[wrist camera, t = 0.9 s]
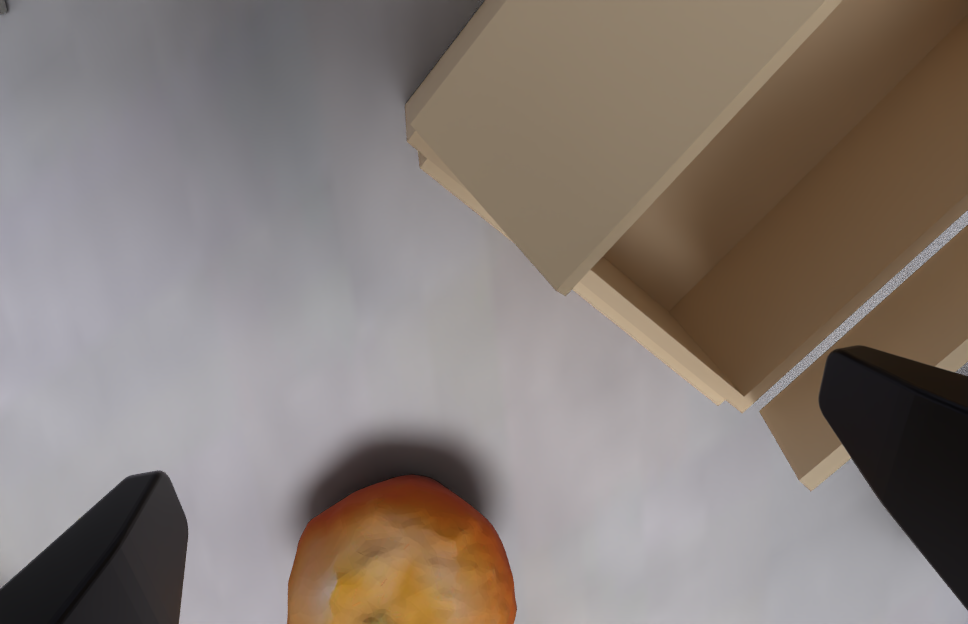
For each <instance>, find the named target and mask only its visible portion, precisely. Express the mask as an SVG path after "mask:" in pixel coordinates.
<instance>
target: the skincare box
mask: <svg viewBox="0 0 968 624" xmlns="http://www.w3.org/2000/svg"><path fill="white" fill-rule="evenodd" d="M6 13H7V8H6V4H5V1H4V0H0V15H2V14H6Z"/></svg>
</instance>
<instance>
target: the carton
mask: <svg viewBox="0 0 968 624" xmlns="http://www.w3.org/2000/svg"><path fill="white" fill-rule="evenodd" d="M505 1H506V0H485V1H484V2H483V4H482V5H481V6H480V7H479V9H478V10H477V11H476V13H475V14H474V15H473V17H472V18H471V19H470V21H469V22H468V23H467V24H466V26H465V27H464V28H463V30H462V31H461V32H460V34H459V35H458V36H457V38H456V39H455V40H454V41H453V43H452V44H451V45H450V47H449V48H448V49H447V51H446V52H445V53H444V55H443V56H442V57H441V58H440V60H439V61H438V62H437V64H436V65H435V66H434V68H433V69H432V70H431V71H430V73H429V74H428V75H427V77H426V78H425V79H424V81H423V82H422V83H421V85H420V86H419V87H418V88H417V90H416V91H415V92H414V94H413V95H412V96H411V98H410V99H409V100H408V102H407V103H406V104H405V115H406V134H407V142H408V143H409V144H410V145H411V146H413V147H414V148H415V149H416V150H418V157H419V165H420V168H421V169H422V170H423V171H424V172H426V173H427V174H428V175H429V176H431V177H432V178H433V179H434V180H436V181H437V182H438V183H439V184H441V185H442V186H443V187H444V188H446V189H447V190H448V191H449V192H451V193H452V194H453V195H454V196H456V197H457V198H458V199H459V200H461V201H462V202H463V203H464V204H466V205H467V206H468V207H469V208H471V209H472V210H473V211H474V212H476V213H477V214H478V215H479V216H481V217H482V218H483V219H484V220H486V221H487V222H488V223H489V224H491V225H492V226H493V227H494V228H496V229H497V230H498V231H499V232H501V233H502V234H503V235H504V236H506V237H507V238H508V239H509V240H511V239H510V238H509V237H508V235H507V234H506V233H505V232H504V231H503V230H502V229H501V227H500V226H499V225H498V224H497V223H496V222H495V221H494V219H493V218H492V217H491V216H490V215H489V214H488V213H487V211H486V210H485V209H484V208H483V207H482V206H481V205H480V203H479V202H478V201H477V200H476V199H475V198H474V197H473V195H472V194H471V193H470V192H469V191H468V190H467V189H466V187H465V186H464V185H463V184H462V183H461V182H460V181H459V179H458V178H457V177H456V176H455V175H454V174H453V173H452V171H451V170H450V169H449V168H448V167H447V166H446V165H445V163H444V162H443V161H442V160H441V159H440V158H439V157H438V156H437V154H436V153H435V152H434V151H433V150H432V149H431V148H430V146H429V145H428V144H427V143H426V142H425V141H424V140H423V138H422V137H421V136H420V135H419V134H418V133H417V132H416V130H415V129H414V128H413V127H412V126H411V125H410V124H411V123H412V121H413V120H414V119H415V117H416V116H417V115H418V114H419V112H420V111H421V110H422V108H423V107H424V106H425V105H426V103H427V102H428V101H429V99H430V98H431V97H432V96H433V94H434V93H435V92H436V90H437V89H438V88H439V87H440V85H441V84H442V83H443V81H444V80H445V79H446V78H447V76H448V75H449V74H450V72H451V71H452V70H453V68H454V67H455V66H456V65H457V63H458V62H459V61H460V59H461V58H462V57H463V56H464V54H465V53H466V52H467V50H468V49H469V48H470V47H471V45H472V44H473V43H474V41H475V40H476V39H477V38H478V36H479V35H480V34H481V32H482V31H483V30H484V29H485V27H486V26H487V25H488V23H489V22H490V21H491V20H492V18H493V17H494V16H495V14H496V13H497V12H498V11H499V9H500V8H501V7H502V5H503V4H504V3H505ZM967 210H968V0H843V1H842V2H841V3H840V4H839V5H838V6H837V7H836V8H835V9H834V10H833V11H832V12H831V13H830V14H829V16H828V17H827V18H826V19H825V20H824V21H823V22H822V23H821V24H820V25H819V26H818V27H817V28H816V29H815V30H814V32H813V33H812V34H811V35H810V36H809V37H808V38H807V39H806V40H805V41H804V42H803V43H802V44H801V45H800V46H799V48H798V49H797V50H796V51H795V52H794V53H793V54H792V55H791V56H790V57H789V58H788V59H787V60H786V61H785V62H784V64H783V65H782V66H781V67H780V68H779V69H778V70H777V71H776V72H775V73H774V74H773V75H772V76H771V77H770V78H769V80H768V81H767V82H766V83H765V84H764V85H763V86H762V87H761V88H760V89H759V90H758V91H757V92H756V93H755V94H754V96H753V97H752V98H751V99H750V100H749V101H748V102H747V103H746V104H745V105H744V106H743V107H742V108H741V109H740V110H739V112H738V113H737V114H736V115H735V116H734V117H733V118H732V119H731V120H730V121H729V122H728V123H727V124H726V125H725V126H724V128H723V129H722V130H721V131H720V132H719V133H718V134H717V135H716V136H715V137H714V138H713V139H712V140H711V141H710V142H709V144H708V145H707V146H706V147H705V148H704V149H703V150H702V151H701V152H700V153H699V154H698V155H697V156H696V157H695V158H694V160H693V161H692V162H691V163H690V164H689V165H688V166H687V167H686V168H685V169H684V170H683V171H682V172H681V173H680V175H679V176H678V177H677V178H676V179H675V180H674V181H673V182H672V183H671V184H670V185H669V186H668V187H667V188H666V189H665V191H664V192H663V193H662V194H661V195H660V196H659V197H658V198H657V199H656V200H655V201H654V202H653V203H652V204H651V205H650V207H649V208H648V209H647V210H646V211H645V212H644V213H643V214H642V215H641V216H640V217H639V218H638V219H637V220H636V221H635V223H634V224H633V225H632V226H631V227H630V228H629V229H628V230H627V231H626V232H625V233H624V234H623V235H622V236H621V237H620V239H619V240H618V241H617V242H616V243H615V244H614V245H613V246H612V247H611V248H610V249H609V250H608V251H607V252H606V253H605V255H604V256H603V257H602V258H601V259H600V260H599V261H598V262H597V263H596V264H595V265H594V266H593V267H592V268H591V269H590V271H589V272H588V273H587V274H586V275H585V276H584V277H583V278H582V279H581V280H580V281H579V282H578V283H577V284H576V285H575V287H574V288H573V289H572V290H573V291H575V292H576V293H577V294H578V295H580V296H581V297H582V298H583V299H585V300H586V301H587V302H588V303H590V304H591V305H592V306H593V307H595V308H596V309H597V310H598V311H600V312H601V313H602V314H603V315H605V316H606V317H607V318H608V319H610V320H611V321H612V322H613V323H615V324H616V325H617V326H618V327H620V328H621V329H622V330H623V331H625V332H626V333H627V334H628V335H630V336H631V337H632V338H633V339H635V340H636V341H637V342H638V343H640V344H641V345H642V346H643V347H645V348H646V349H647V350H648V351H650V352H651V353H652V354H653V355H655V356H656V357H657V358H658V359H660V360H661V361H662V362H663V363H665V364H666V365H667V366H669V367H670V368H671V369H672V370H674V371H675V372H676V373H677V374H679V375H680V376H681V377H682V378H684V379H685V380H686V381H687V382H689V383H690V384H691V385H692V386H694V387H695V388H696V389H697V390H699V391H700V392H701V393H702V394H704V395H705V396H706V397H707V398H709V399H710V400H711V401H712V402H714V403H715V404H716V405H717V406H719V405H720V404H721V403H722V402H723V401H724V400H726V401H728V402H729V403H730V404H731V405H732V406H734V407H735V408H736V409H737V410H739V411H740V412H741V413H743V412H744V411H745V410H746V409H748V408H749V407H750V406H751V405H752V404H753V403H754V402H755V401H756V400H758V399H759V398H760V397H761V396H762V395H763V394H764V393H765V392H766V391H768V390H769V389H770V388H771V387H772V386H773V385H774V384H775V383H776V382H777V381H779V380H780V379H781V378H782V377H783V376H784V375H785V374H786V373H787V372H789V371H790V370H791V369H792V368H793V367H794V366H795V365H796V364H797V363H799V362H800V361H801V360H802V359H803V358H804V357H805V356H806V355H807V354H809V353H810V352H811V351H812V350H813V349H814V348H815V347H816V346H817V345H818V344H820V343H821V342H822V341H823V340H824V339H825V338H826V337H827V336H828V335H830V334H831V333H832V332H833V331H834V330H835V329H836V328H837V327H838V326H840V325H841V324H842V323H843V322H844V321H845V320H846V319H847V318H848V317H850V316H851V315H852V314H853V313H854V312H855V311H856V310H857V309H858V308H860V307H861V306H862V305H863V304H864V303H865V302H866V301H867V300H868V299H869V298H871V297H872V296H873V295H874V294H875V293H876V292H877V291H878V290H879V289H881V288H882V287H883V286H884V285H885V284H886V283H887V282H888V281H889V280H891V279H892V278H893V277H894V276H895V275H896V274H897V273H898V272H899V271H901V270H902V269H903V268H904V267H905V266H906V265H907V264H908V263H909V262H910V261H912V260H913V259H914V258H915V257H916V256H917V255H918V254H919V253H920V252H922V251H923V250H924V249H925V248H926V247H927V246H928V245H929V244H930V243H932V242H933V241H934V240H935V239H936V238H937V237H938V236H939V235H940V234H942V233H943V232H944V231H945V230H946V229H947V228H948V227H949V226H950V225H952V224H953V223H954V222H955V221H956V220H957V219H958V218H959V217H960V216H961V215H963V214H964V213H965V212H966V211H967ZM511 241H512V240H511ZM512 242H513V241H512ZM513 243H514V242H513ZM514 244H515V243H514Z"/></svg>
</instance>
